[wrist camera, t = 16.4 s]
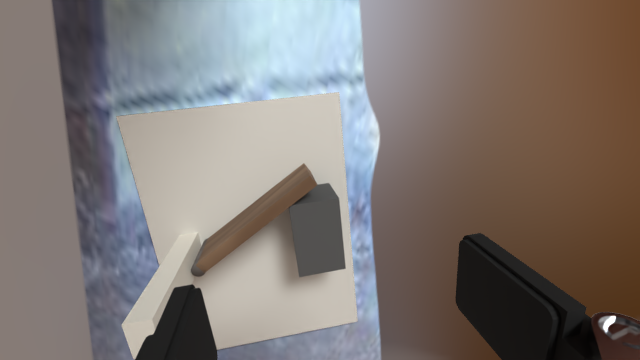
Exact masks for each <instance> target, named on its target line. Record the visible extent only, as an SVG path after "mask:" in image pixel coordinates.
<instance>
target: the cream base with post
mask: <svg viewBox="0 0 640 360" xmlns="http://www.w3.org/2000/svg"><path fill="white" fill-rule="evenodd" d="M116 117H117V120H118V124H119V127H120V131H121V134H122V138H123V141H124V145H125V148H126V152H127V155H128V159H129V162H130V165H131V169H132V172H133V176H134V179H135V183H136V186H137V190H138V193H139V197H140V200H141V204H142V207H143V210H144V214H145V217H146V221H147V224H148V228H149V231H150V235H151V238H152V242H153V245H154V249H155V252H156V255H157V259H158V262H159V268H158V270H157V271H156V273H155V274H154V276H153V277H152V279H151V280H150V282H149V283H148V285H147V286H146V288H145V290H144V291H143V293H142V294H141V296H140V297H139V299H138V300H137V302H136V303H135V305H134V307H133V308H132V310H131V311H130V313H129V314H128V316H127V317H126V319H125V320H124V322H123V324H122V328H123V331H124V334H125V337H126V339H127V342H128V345H129V348H130V351H131V354H132V356H133V359H136V356H137V354H138V352H139V350H140V348H141V346H142V344H143V342H144V340H145V338H146V337H147V336H149V335H153V334H154V332H155V329H156V327H157V325H158V323H159V320H160V318H161V316H162V313H163V311H164V309H165V307H166V304H167V302H168V300H169V298H170V295H171V293H172V291H173V289H174V288H175V287H180V286H186V285H191V284H193V285H194V286H195V288H200V289H201V291H202V295H203V299H204V302H205V306H206V310H207V314H208V318H209V321H210V325H211V329H212V333H213V336H214V340H215V344H216V348H217V350H219V349H224V348H228V347H233V346H238V345H243V344H248V343H253V342H258V341H263V340H268V339H273V338H278V337H283V336H288V335H293V334H298V333H303V332H308V331H313V330H318V329H323V328H328V327H333V326H338V325H342V324H347V323H352V322H357V310H356V297H355V285H354V272H353V260H352V247H351V235H350V222H349V210H348V197H347V185H346V172H345V160H344V147H343V135H342V122H341V110H340V98H339V92H337V93H327V94H318V95H309V96H300V97H290V98H281V99H272V100H263V101H253V102H244V103H235V104H226V105H216V106H207V107H198V108H188V109H179V110H170V111H161V112H151V113H142V114H133V115H124V116H116ZM303 163H304V164H305V165H306V166H307V167H308V169H309V170H310V171H311V173H312V175H313V177H314V179H315V181H316V183H317V185H318V184H325V183H329V184H330V185H331V187H332V188H333V190H334V191H335V193H336V194H337V196H338V197H339V202H340V213H341V223H342V234H343V244H344V255H345V266H346V269H342V270H336V271H331V272H325V273H320V274H315V275H309V276H304V277H299V273H298V267H297V260H296V254H295V247H294V240H293V233H292V226H291V220H290V213H289V208H287V209H286V210H285V211H284V212H282V213H281V214H280V215H278V216H277V217H276V218H275V219H273V220H272V221H271V222H269V223H268V224H267V225H266V226H264V227H263V228H262V229H260V230H259V231H258V232H257V233H255V234H254V235H253V236H252V237H250V238H249V239H248V240H246V241H245V242H244V243H243V244H241V245H240V246H239V247H237V248H236V249H235V250H234V251H232V252H231V253H230V254H228V255H227V256H226V257H225V258H223V259H222V260H221V261H219V262H218V263H217V264H216V265H214V266H213V267H212V268H210V269H209V270H208V271H207V272H206V273H205V274H204V275H203V276H201V277H196V276H194V275H193V274H192V273H191V268H192V266H193V263H194V261H195V259H196V257H197V255H198V252H199V250H200V248H201V246H202V244H203V242H204V240H205V239H207V238H209V237H210V236H212V235H213V234H214V233H216V232H217V231H218V230H219V229H221V228H222V227H223V226H224V225H226V224H227V223H228V222H229V221H231V220H232V219H233V218H235V217H236V216H237V215H238V214H240V213H241V212H242V211H243V210H245V209H246V208H247V207H249V206H250V205H251V204H252V203H254V202H255V201H256V200H257V199H259V198H260V197H261V196H263V195H264V194H265V193H266V192H268V191H269V190H270V189H271V188H273V187H274V186H275V185H277V184H278V183H279V182H280V181H282V180H283V179H284V178H285V177H287V176H288V175H289V174H291V173H292V172H293V171H294V170H296V169H297V168H298V167H299V166H301V165H302V164H303Z"/></svg>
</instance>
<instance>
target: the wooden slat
mask: <svg viewBox="0 0 640 360" xmlns="http://www.w3.org/2000/svg"><path fill="white" fill-rule="evenodd" d="M316 186H317V183H316V181H315V179H314V177H313V175H312V173H311V171H310V170H309V169H308V167H307V166H306V165H305V164H304V163H303V164H302V165H301V166H299V167H298V168H297V169H296V170H294V171H293V172H292V173H291V174H289V175H288V176H287V177H285V178H284V179H283V180H282V181H280V182H279V183H278V184H277V185H275V186H274V187H273V188H271V189H270V190H269V191H268V192H266V193H265V194H264V195H263V196H261V197H260V198H259V199H257V200H256V201H255V202H254V203H252V204H251V205H250V206H249V207H247V208H246V209H245V210H243V211H242V212H241V213H240V214H238V215H237V216H236V217H235V218H233V219H232V220H231V221H229V222H228V223H227V224H226V225H224V226H223V227H222V228H221V229H219V230H218V231H217V232H216V233H214V234H213V235H212V236H210V237H209V238H207V239H205V240H204V242H203V244H202V246H201V248H200V250H199V252H198V255H197V257H196V259H195V261H194V263H193V266H192V268H191V273H192V274H193V275H194V276H196V277H201V276H203V275H204V274H205V273H206V272H207V271H208V270H209V269H210V268H212V267H213V266H214V265H216V264H217V263H218V262H219V261H221V260H222V259H223V258H225V257H226V256H227V255H228V254H230V253H231V252H232V251H234V250H235V249H236V248H237V247H239V246H240V245H241V244H243V243H244V242H245V241H246V240H248V239H249V238H250V237H252V236H253V235H254V234H255V233H257V232H258V231H259V230H260V229H262V228H263V227H264V226H266V225H267V224H268V223H269V222H271V221H272V220H273V219H275V218H276V217H277V216H278V215H280V214H281V213H282V212H284V211H285V210H286V209H287V208H289V207H290V206H291V205H293V204H294V203H295V202H296V201H298V200H299V199H300V198H302V197H303V196H304V195H305V194H307V193H308V192H309V191H310V190H312V189H313V188H314V187H316Z"/></svg>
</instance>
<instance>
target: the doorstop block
mask: <svg viewBox="0 0 640 360" xmlns="http://www.w3.org/2000/svg"><path fill="white" fill-rule="evenodd" d="M289 213H290V220H291V226H292V233H293V240H294V247H295V254H296V260H297V267H298V273H299V277H304V276H309V275H315V274H320V273H325V272H331V271H336V270H342V269H346V266H345V255H344V244H343V234H342V223H341V213H340V202H339V197H338V196H337V194H336V193H335V191H334V190H333V188H332V187H331V185H330V184H329V183H325V184H318V185H317V186H316V187H314V188H313V189H312V190H310V191H309V192H308V193H307V194H305V195H304V196H303V197H302V198H300V199H299V200H298V201H296V202H295V203H294V204H293V205H291V206H290V207H289Z"/></svg>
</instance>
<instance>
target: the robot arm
mask: <svg viewBox="0 0 640 360" xmlns="http://www.w3.org/2000/svg"><path fill="white" fill-rule="evenodd" d="M456 303H457V306H458V308H459V310H460V311H461V312H462V313H463V314H464V316H465V317H466V318H467V319H468V320H469V322H470V323H471V324H472V325H473V326H474V327H475V329H476V330H477V331H478V332H479V333H480V335H481V336H482V337H483V338H484V339H485V340H486V342H487V343H488V344H489V345H490V346H491V347H492V349H493V350H494V351H495V352H496V353H497V355H498V356H499V357H500V358H501V359H502V360H640V321H638V320H636V319H633V318H631V317H628V316H625V315H622V314H618V313H612V312H600V313H597V314H594V315H593V317H592V318H590V317H589V316H587V315H586V314H585V311H586V307H585V306H584V305H582V304H581V303H579V302H578V301H577V300H575V299H574V298H572V297H571V296H570V295H568V294H567V293H565V292H564V291H562V290H561V289H560V288H558V287H557V286H555V285H554V284H553V283H551V282H550V281H548V280H547V279H545V278H544V277H543V276H541V275H540V274H538V273H537V272H536V271H534V270H533V269H531V268H530V267H529V266H527V265H526V264H524V263H523V262H521V261H520V260H519V259H517V258H516V257H514V256H513V255H512V254H510V253H509V252H507V251H506V250H505V249H503V248H502V247H500V246H499V245H497V244H496V243H495V242H493V241H492V240H490V239H489V238H488V237H486V236H485V235H483V234H481V233H478V234H472V235H467V236H464V238H463V240H462V241H460V244H459V257H458V271H457V287H456ZM135 360H217V348H216V344H215V340H214V336H213V333H212V329H211V325H210V321H209V318H208V314H207V310H206V306H205V302H204V299H203V295H202V291H201V289H200V288H195V286H194V285H193V284H191V285H186V286H180V287H175V288H174V289H173V291H172V293H171V295H170V298H169V300H168V302H167V304H166V307H165V309H164V311H163V313H162V316H161V318H160V320H159V323H158V325H157V327H156V329H155V332H154V334H153V335H149V336H147V337H146V338H145V340H144V342H143V344H142V346H141V348H140V350H139V352H138V354H137V356H136V359H135Z"/></svg>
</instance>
